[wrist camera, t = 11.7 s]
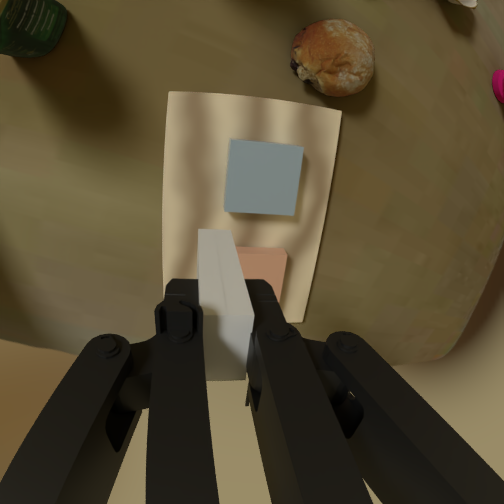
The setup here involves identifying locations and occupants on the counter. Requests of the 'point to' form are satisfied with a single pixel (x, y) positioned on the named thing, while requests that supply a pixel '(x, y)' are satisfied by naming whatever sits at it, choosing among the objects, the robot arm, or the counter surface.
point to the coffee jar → (30, 26)
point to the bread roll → (333, 57)
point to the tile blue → (262, 177)
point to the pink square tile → (264, 265)
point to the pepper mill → (498, 85)
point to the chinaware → (465, 3)
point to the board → (214, 174)
